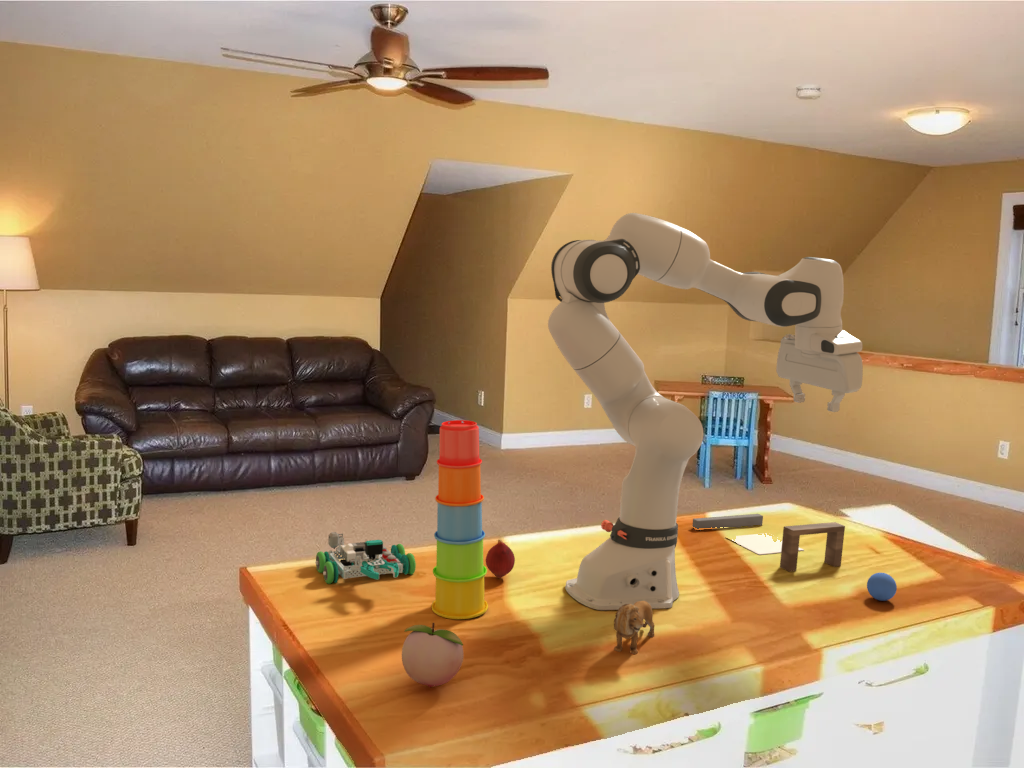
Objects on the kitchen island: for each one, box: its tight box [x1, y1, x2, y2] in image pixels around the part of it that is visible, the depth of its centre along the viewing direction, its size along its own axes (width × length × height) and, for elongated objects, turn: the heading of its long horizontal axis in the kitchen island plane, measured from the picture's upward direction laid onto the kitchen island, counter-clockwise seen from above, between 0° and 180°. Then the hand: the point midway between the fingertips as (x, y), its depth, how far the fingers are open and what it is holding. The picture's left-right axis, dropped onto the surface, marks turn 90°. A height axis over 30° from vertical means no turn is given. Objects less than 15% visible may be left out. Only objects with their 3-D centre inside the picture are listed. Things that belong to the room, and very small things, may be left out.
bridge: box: [779, 521, 846, 572], centre depth 191 cm, size 3×14×9 cm, turn 113°
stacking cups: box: [431, 419, 489, 620], centre depth 156 cm, size 10×10×35 cm
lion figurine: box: [613, 601, 655, 655], centre depth 146 cm, size 15×5×9 cm, turn 159°
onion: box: [485, 538, 516, 579], centre depth 174 cm, size 6×6×8 cm
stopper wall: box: [691, 513, 764, 529], centre depth 219 cm, size 20×2×2 cm, turn 113°
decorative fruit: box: [401, 622, 464, 688], centre depth 127 cm, size 9×8×10 cm
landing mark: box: [731, 532, 805, 556], centre depth 206 cm, size 13×13×1 cm
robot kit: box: [315, 531, 417, 585], centre depth 170 cm, size 19×25×9 cm
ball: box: [866, 572, 898, 602], centre depth 173 cm, size 6×6×6 cm
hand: (815, 406), depth 175 cm, fingers open, 8 cm apart
